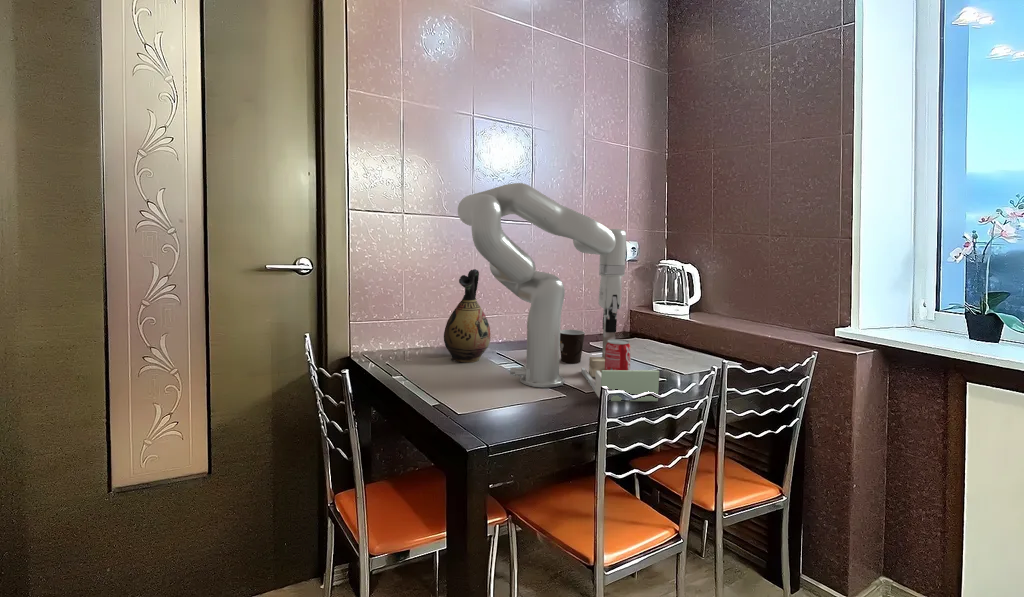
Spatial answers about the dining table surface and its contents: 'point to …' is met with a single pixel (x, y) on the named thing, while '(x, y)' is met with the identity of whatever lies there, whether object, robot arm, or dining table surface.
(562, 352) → the coffee mug
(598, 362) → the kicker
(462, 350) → the ceramic jug
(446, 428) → the dining table surface
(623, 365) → the soda can
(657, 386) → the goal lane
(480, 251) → the robot arm
